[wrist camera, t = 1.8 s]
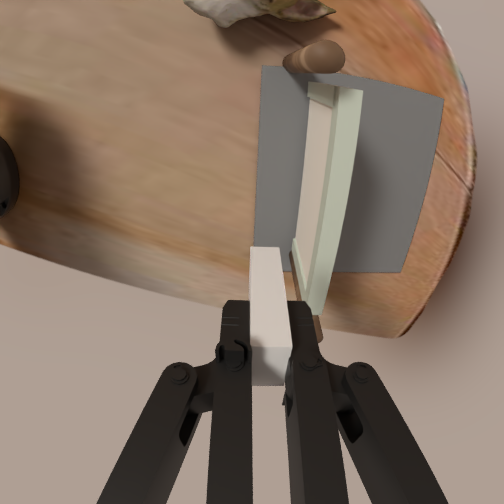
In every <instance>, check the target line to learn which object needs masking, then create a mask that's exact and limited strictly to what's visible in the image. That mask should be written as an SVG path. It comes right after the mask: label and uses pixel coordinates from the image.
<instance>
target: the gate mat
mask: <svg viewBox="0 0 504 504" xmlns="http://www.w3.org/2000/svg"><path fill="white" fill-rule="evenodd" d="M308 81H309V82H317V83H325V84H331V85H337V86H342V87H347V88H353V89H357V90H362V91H363V97H362V106H361V115H360V123H359V131H358V138H357V145H356V152H355V158H354V165H353V171H352V177H351V183H350V189H349V194H348V200H347V205H346V210H345V216H344V221H343V226H342V230H341V235H340V240H339V245H338V249H337V254H336V258H335V263H334V267H333V271H332V272H401V269H402V266H403V264H404V261H405V258H406V255H407V252H408V249H409V246H410V243H411V240H412V237H413V234H414V231H415V228H416V224H417V221H418V218H419V214H420V211H421V207H422V204H423V200H424V196H425V193H426V189H427V185H428V181H429V177H430V173H431V168H432V164H433V159H434V155H435V150H436V145H437V140H438V134H439V129H440V123H441V117H442V110H443V103H444V99H443V98H440V97H437V96H434V95H430V94H427V93H424V92H420V91H417V90H413V89H410V88H406V87H402V86H398V85H394V84H390V83H386V82H381V81H377V80H372V79H367V78H362V77H357V76H352V75H346V74H340V73H332V74H317V73H290V72H288V71H287V70H286V69H285V68H284V67H280V66H264V65H262V76H261V98H260V119H259V141H258V162H257V184H256V205H255V226H254V247H279V249H280V256H281V263H282V270H283V271H292V270H291V264H290V259H289V252H290V251H291V250H292V242H293V238H295V236H296V228H297V220H298V212H299V204H300V195H301V186H302V177H303V168H304V158H305V148H306V137H307V127H308V115H309V103H310V97H307V95H308Z"/></svg>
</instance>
